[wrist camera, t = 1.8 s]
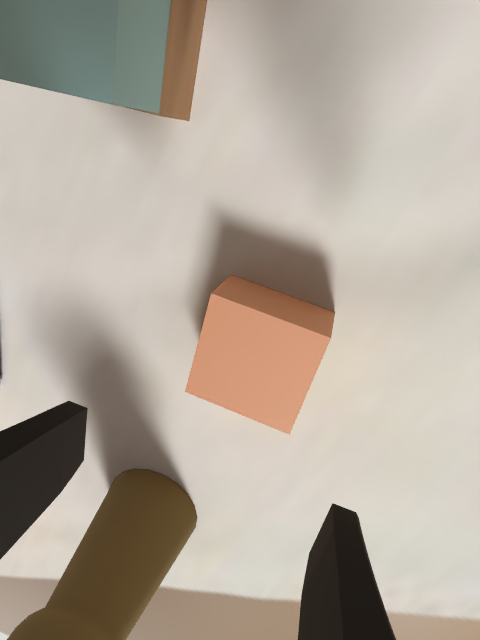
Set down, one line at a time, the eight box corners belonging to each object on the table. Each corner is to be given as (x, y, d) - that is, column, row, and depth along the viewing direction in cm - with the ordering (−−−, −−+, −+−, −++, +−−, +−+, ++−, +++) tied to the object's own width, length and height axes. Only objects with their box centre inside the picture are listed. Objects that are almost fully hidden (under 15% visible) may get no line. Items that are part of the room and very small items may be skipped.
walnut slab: (84, 94, 18) (35, 84, 15) (91, -53, 15) (35, -96, 13) (190, 121, 17) (159, 115, 14) (213, -29, 15) (181, -70, 12)
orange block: (207, 361, 21) (185, 391, 18) (232, 273, 19) (210, 293, 16) (298, 397, 20) (289, 434, 18) (335, 310, 18) (330, 338, 16)
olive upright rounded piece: (119, 453, 25) (-35, 648, 15) (208, 496, 24) (106, 728, 15) (104, 515, 28) (-37, 714, 18) (183, 555, 27) (83, 785, 17)
